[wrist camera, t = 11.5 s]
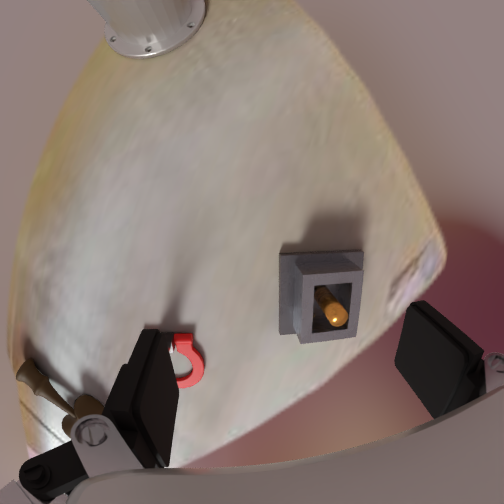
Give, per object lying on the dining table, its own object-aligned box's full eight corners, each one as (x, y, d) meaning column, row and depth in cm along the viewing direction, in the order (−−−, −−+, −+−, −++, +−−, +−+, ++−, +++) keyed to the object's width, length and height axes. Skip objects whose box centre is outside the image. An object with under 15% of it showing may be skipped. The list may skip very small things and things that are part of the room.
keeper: (279, 253, 32) (291, 273, 26) (360, 249, 33) (388, 266, 26) (278, 330, 35) (288, 363, 28) (353, 323, 35) (374, 351, 29)
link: (294, 263, 32) (302, 275, 28) (349, 259, 32) (363, 270, 28) (293, 326, 34) (300, 343, 30) (344, 320, 34) (356, 336, 30)
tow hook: (208, 383, 37) (199, 329, 34) (202, 457, 25) (186, 406, 22) (151, 382, 37) (136, 330, 34) (131, 451, 24) (102, 399, 22)
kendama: (36, 343, 34) (129, 421, 38) (25, 369, 36) (108, 437, 40) (17, 362, 29) (119, 446, 32) (9, 387, 30) (98, 460, 34)
